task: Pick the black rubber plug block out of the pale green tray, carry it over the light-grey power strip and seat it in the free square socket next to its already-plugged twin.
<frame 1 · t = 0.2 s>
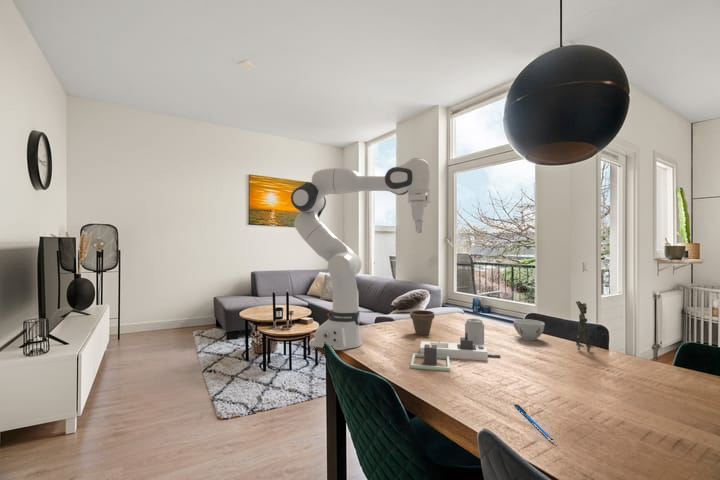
hand: (418, 232, 145), 47 cm above the table, fingers open, 8 cm apart
flower pot: (422, 333, 170), on the table
statue: (585, 352, 142), on the table
can: (474, 349, 144), on the table
teacup: (526, 338, 161), on the table
plug: (430, 363, 125), point 1 cm above the table, touching tray
tray: (430, 365, 125), on the table
pdu strip: (452, 356, 135), on the table
pen: (533, 425, 85), on the table
twin plug: (466, 355, 134), point 1 cm above the table, touching pdu strip
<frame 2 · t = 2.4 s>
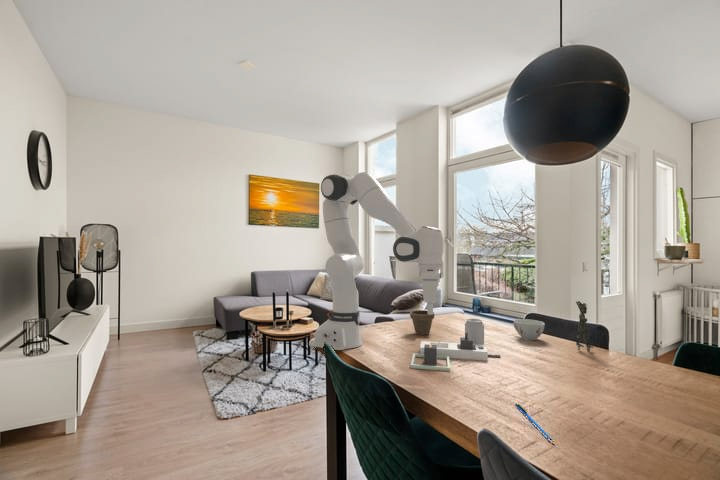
hand: (430, 311, 125), 19 cm above the table, fingers open, 8 cm apart
nothing on the table moved.
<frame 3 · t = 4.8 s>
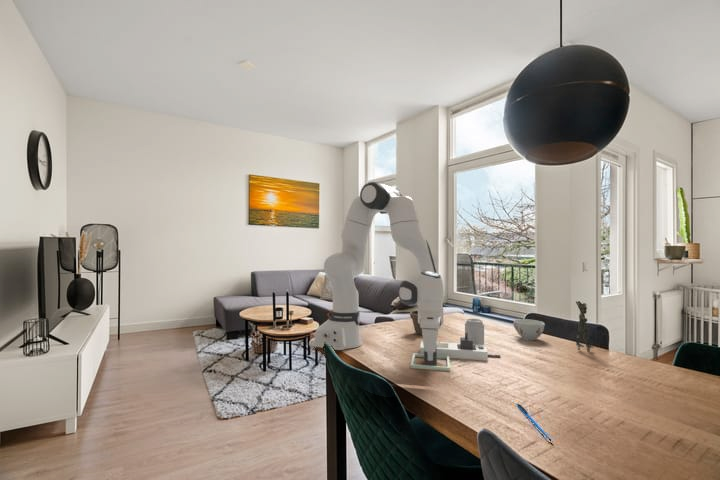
hand: (430, 357, 125), 3 cm above the table, fingers closed on plug, 4 cm apart
plug: (430, 363, 125), point 1 cm above the table, touching gripper, tray
everything else where it was.
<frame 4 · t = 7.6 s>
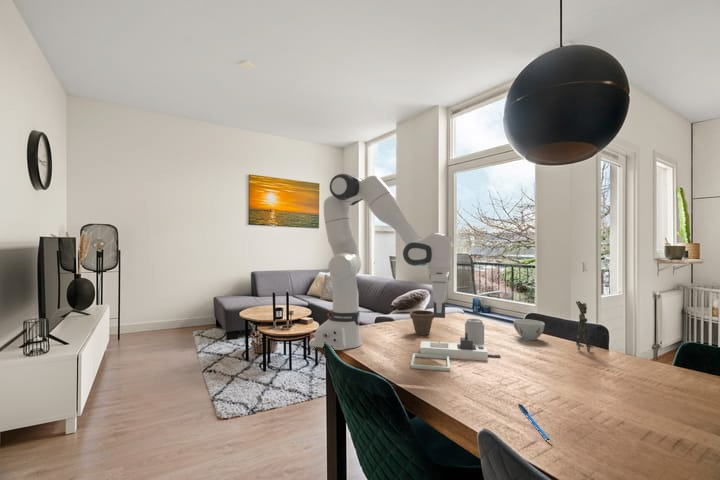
hand: (439, 311, 136), 17 cm above the table, fingers closed on plug, 4 cm apart
plug: (439, 316, 136), point 15 cm above the table, touching gripper
everything else where it was.
when the fingers open (5 cm above the table, at t = 10.6 s): plug drops 1 cm, resting on pdu strip.
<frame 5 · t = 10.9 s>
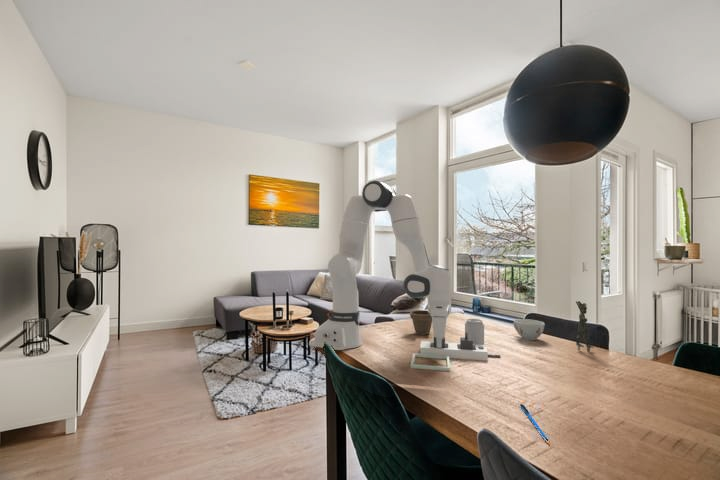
hand: (439, 343, 136), 5 cm above the table, fingers open, 8 cm apart
plug: (439, 353, 136), point 1 cm above the table, touching pdu strip
everything else where it was.
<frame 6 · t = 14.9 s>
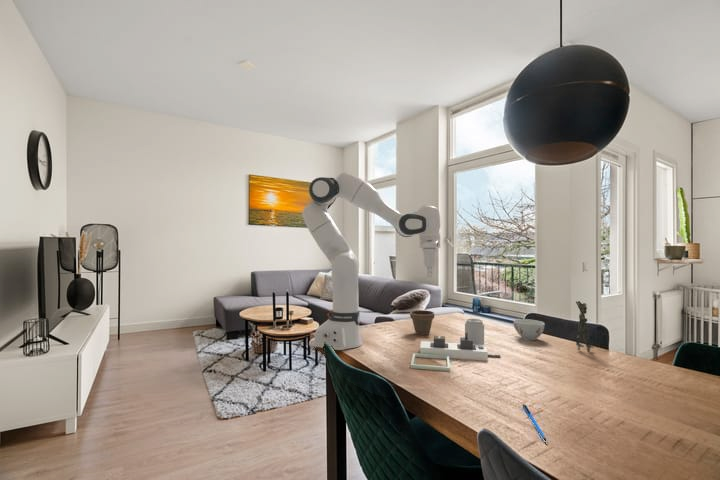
hand: (429, 276, 151), 29 cm above the table, fingers open, 8 cm apart
at the end: plug 0.0 cm from the target spot on the pdu strip, point 1.0 cm above the pdu strip's base; plug tilted 0°; the gripper is holding nothing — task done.
